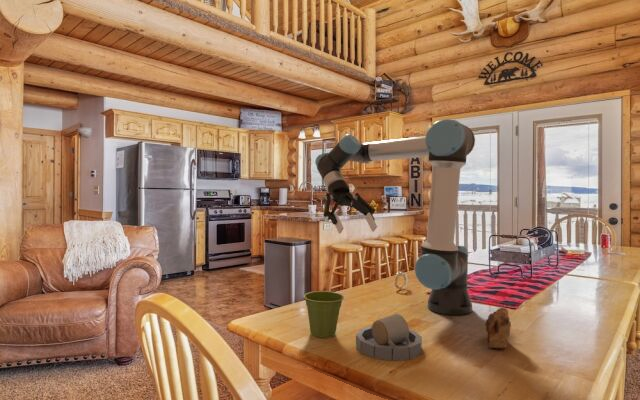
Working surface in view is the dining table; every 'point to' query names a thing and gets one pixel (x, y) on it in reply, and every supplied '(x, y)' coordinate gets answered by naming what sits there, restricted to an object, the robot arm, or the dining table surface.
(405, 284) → the ring
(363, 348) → the round tray
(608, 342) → the dining table surface
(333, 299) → the plant pot
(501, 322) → the decorative rock
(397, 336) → the ceramic mug
